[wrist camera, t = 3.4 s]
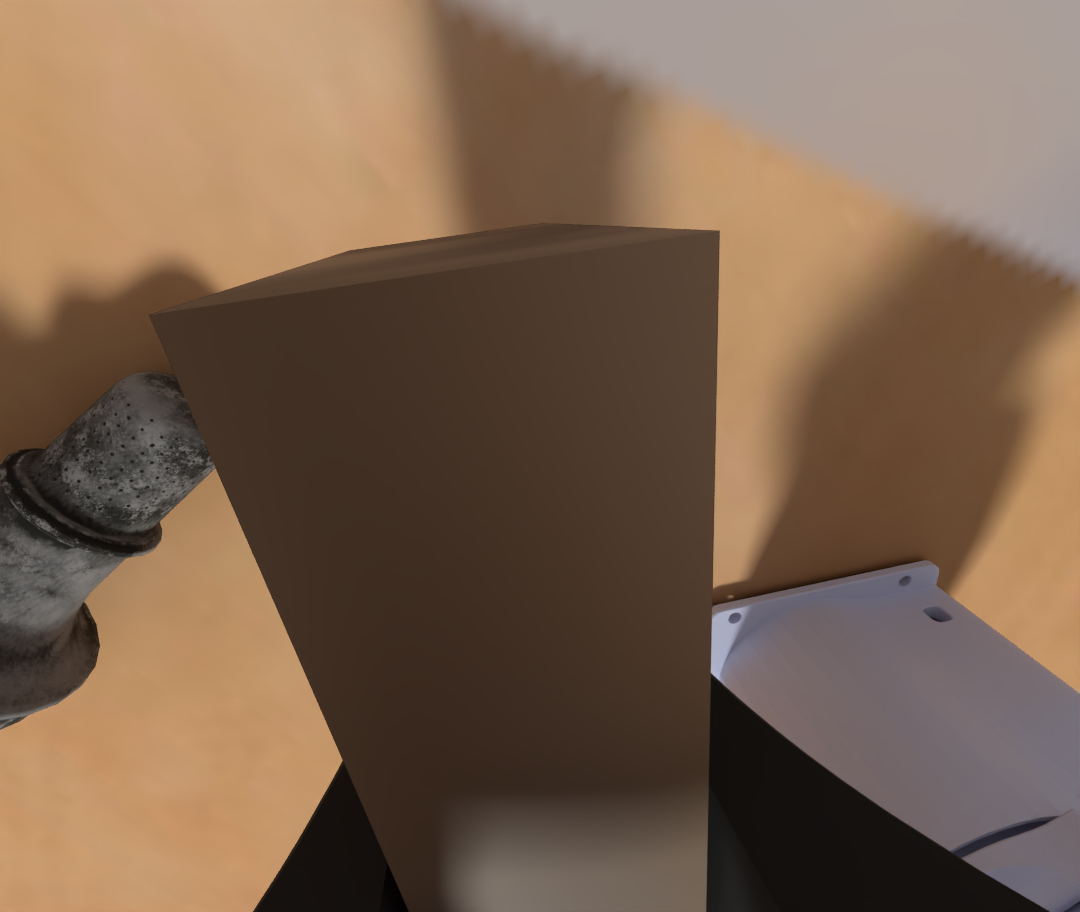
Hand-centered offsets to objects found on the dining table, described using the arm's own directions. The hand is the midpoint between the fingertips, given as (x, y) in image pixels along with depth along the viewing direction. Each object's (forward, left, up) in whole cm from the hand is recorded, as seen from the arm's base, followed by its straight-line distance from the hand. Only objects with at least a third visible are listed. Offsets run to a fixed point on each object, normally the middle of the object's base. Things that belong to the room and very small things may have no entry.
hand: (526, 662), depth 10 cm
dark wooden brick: (0, 0, -2) cm, 2 cm away
